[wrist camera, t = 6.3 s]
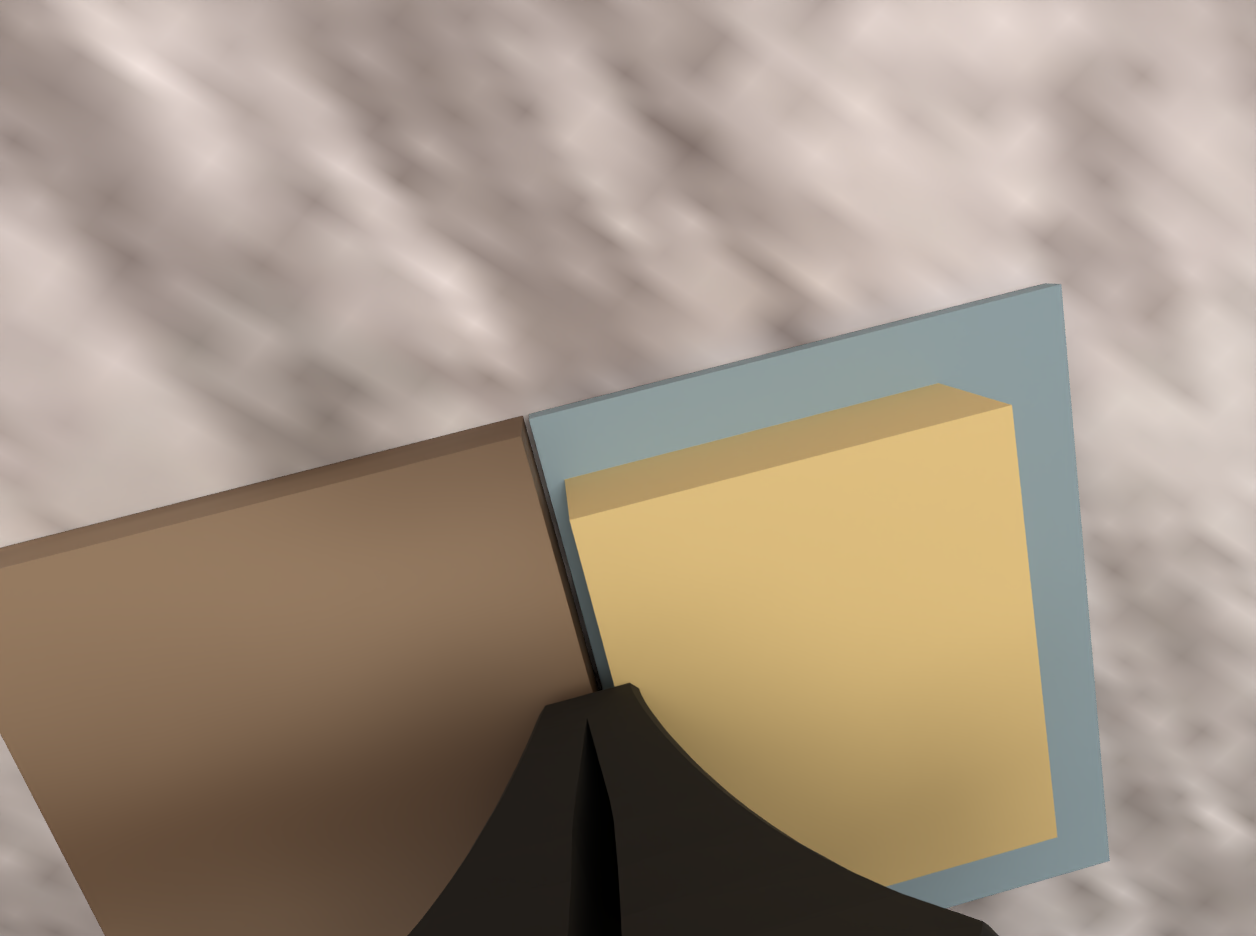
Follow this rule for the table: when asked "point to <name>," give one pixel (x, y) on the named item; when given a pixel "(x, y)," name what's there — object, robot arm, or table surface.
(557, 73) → the table surface
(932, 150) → the table surface
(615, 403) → the mat
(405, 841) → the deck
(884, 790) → the tile
